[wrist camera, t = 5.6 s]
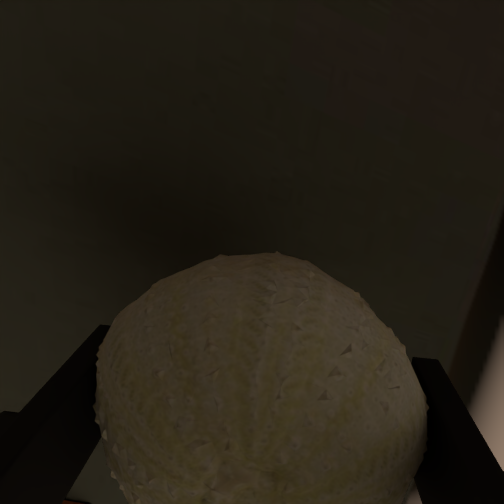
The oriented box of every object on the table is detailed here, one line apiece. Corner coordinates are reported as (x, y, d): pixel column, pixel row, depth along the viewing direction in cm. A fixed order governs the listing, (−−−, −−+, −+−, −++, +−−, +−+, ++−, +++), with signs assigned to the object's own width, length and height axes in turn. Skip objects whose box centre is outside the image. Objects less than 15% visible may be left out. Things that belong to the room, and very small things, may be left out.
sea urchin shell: (334, 166, 9) (545, 637, 5) (372, 279, 16) (473, 516, 12) (19, 305, 11) (-3, 717, 7) (173, 352, 18) (204, 574, 14)
